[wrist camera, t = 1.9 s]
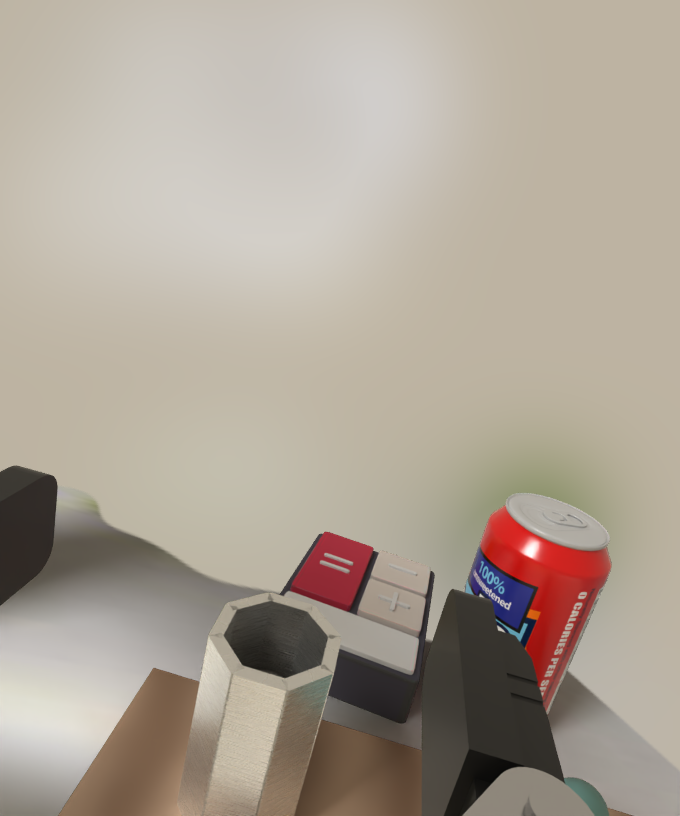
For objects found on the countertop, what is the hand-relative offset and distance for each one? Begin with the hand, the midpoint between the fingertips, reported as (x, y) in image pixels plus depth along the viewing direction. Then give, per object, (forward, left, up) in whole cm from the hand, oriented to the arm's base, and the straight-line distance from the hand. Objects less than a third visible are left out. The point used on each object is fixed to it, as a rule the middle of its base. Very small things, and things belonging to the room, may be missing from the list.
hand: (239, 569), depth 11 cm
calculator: (-17, +23, -23) cm, 37 cm away
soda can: (-7, +28, -23) cm, 36 cm away
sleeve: (-8, +8, -21) cm, 24 cm away
